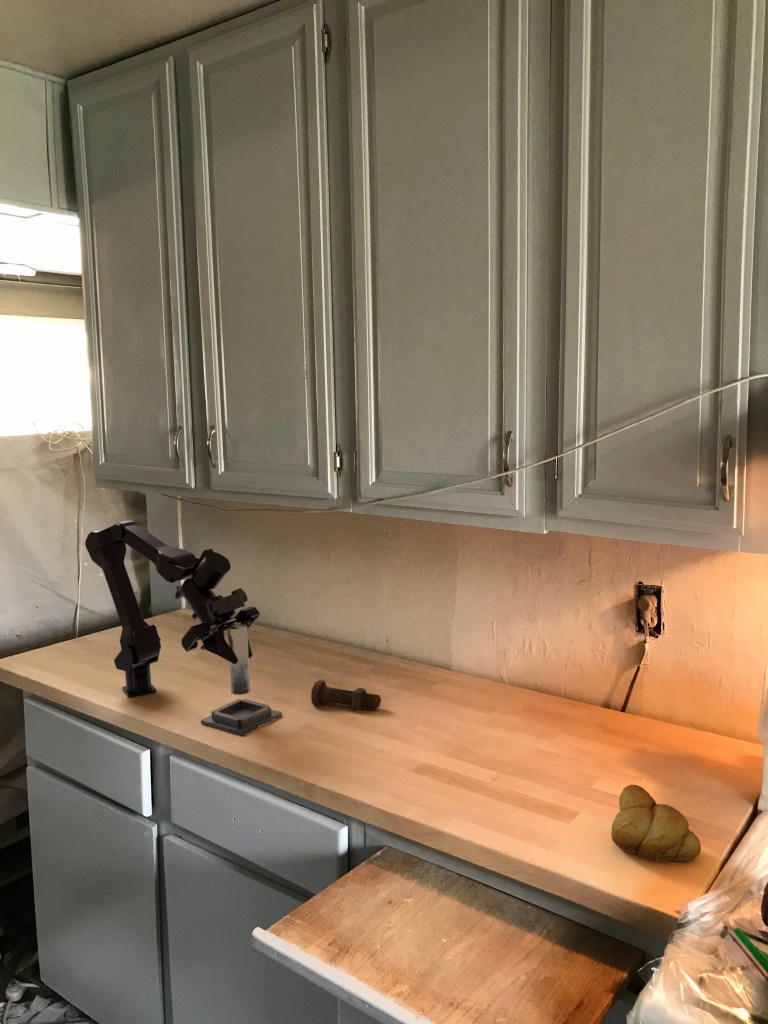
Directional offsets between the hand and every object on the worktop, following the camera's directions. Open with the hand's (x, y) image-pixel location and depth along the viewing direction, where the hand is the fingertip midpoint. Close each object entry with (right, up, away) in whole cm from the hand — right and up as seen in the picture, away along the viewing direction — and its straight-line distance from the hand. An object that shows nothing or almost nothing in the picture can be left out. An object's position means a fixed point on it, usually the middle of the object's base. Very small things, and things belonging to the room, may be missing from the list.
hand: (243, 659), depth 174 cm
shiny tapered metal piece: (-1, -7, +2) cm, 7 cm away
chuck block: (-1, -13, +3) cm, 13 cm away
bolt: (+21, -12, +8) cm, 26 cm away
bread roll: (+69, -20, -50) cm, 88 cm away
